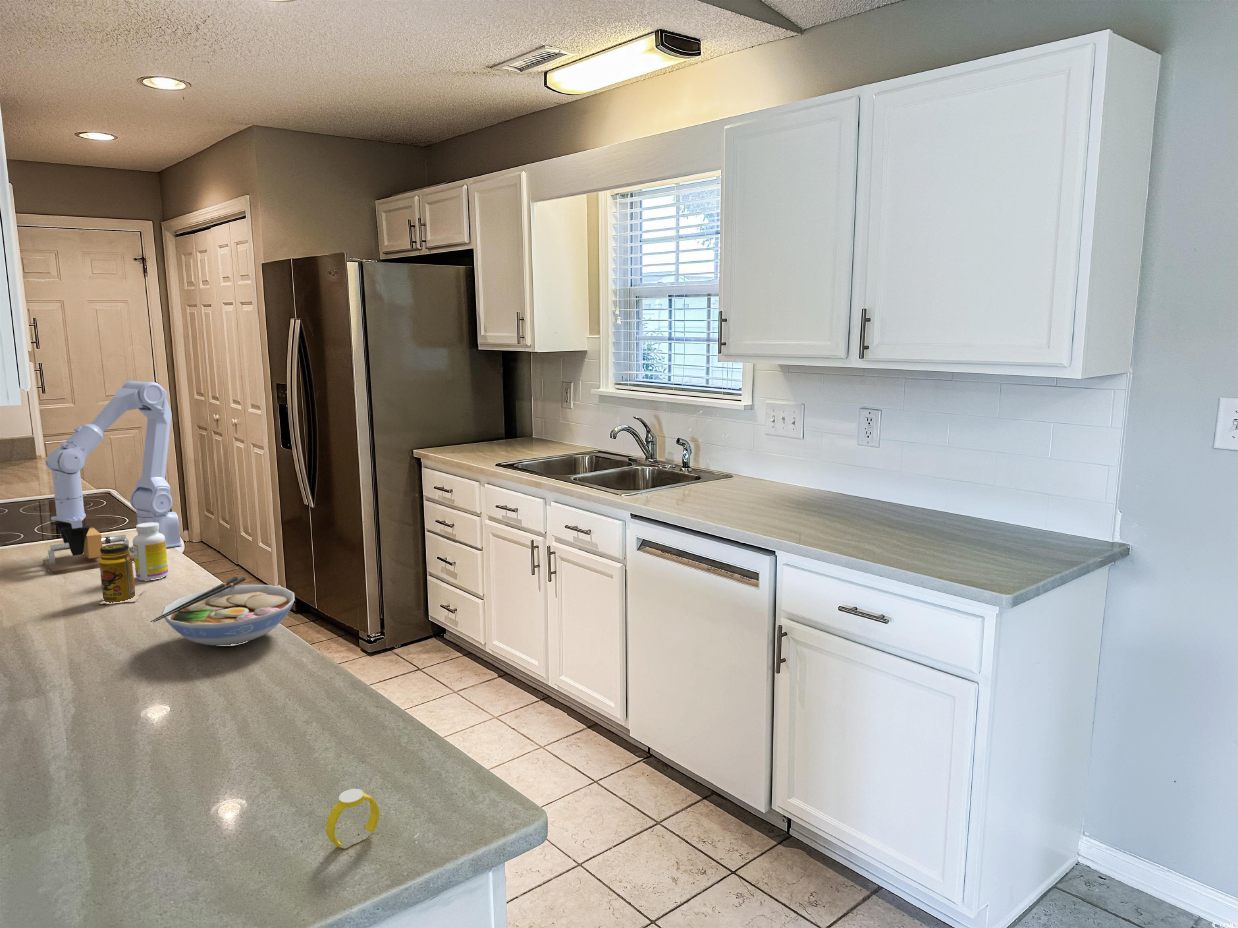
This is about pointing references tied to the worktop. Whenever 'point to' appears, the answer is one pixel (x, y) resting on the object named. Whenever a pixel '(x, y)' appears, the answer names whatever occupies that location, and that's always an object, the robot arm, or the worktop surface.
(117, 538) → the metal rod
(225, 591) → the ramen bowl
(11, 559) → the worktop surface
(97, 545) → the collar
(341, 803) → the watch
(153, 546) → the supplement bottle
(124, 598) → the condiment
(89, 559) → the walnut board
